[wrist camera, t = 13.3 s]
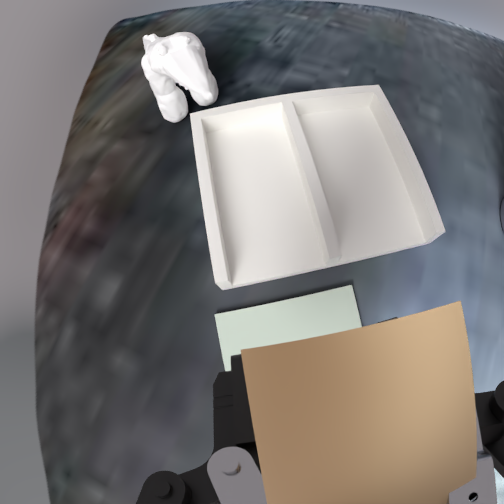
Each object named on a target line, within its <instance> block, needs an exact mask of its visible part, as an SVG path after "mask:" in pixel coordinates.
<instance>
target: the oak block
mask: <svg viewBox="0 0 504 504" xmlns="http://www.w3.org/2000/svg"><path fill="white" fill-rule="evenodd" d="M241 356H242V362H243V369H244V375H245V381H246V387H247V393H248V399H249V405H250V411H251V417H252V423H253V429H254V435H255V440H256V446H257V452H258V457H259V463H260V468H261V474H262V479H263V485H264V490H265V495H266V501H267V504H447V500H448V495H449V493H450V492H452V491H454V490H456V489H458V488H459V487H461V486H463V485H464V484H466V483H468V482H469V481H471V480H473V479H474V478H476V467H477V429H476V407H475V394H474V383H473V373H472V365H471V357H470V350H469V344H468V337H467V331H466V326H465V320H464V315H463V310H462V305H461V301H458V302H454V303H451V304H448V305H444V306H441V307H438V308H434V309H431V310H427V311H423V312H420V313H416V314H412V315H409V316H405V317H401V318H397V319H393V320H389V321H385V322H381V323H377V324H373V325H369V326H364V327H360V328H356V329H351V330H347V331H342V332H337V333H332V334H328V335H323V336H318V337H313V338H307V339H302V340H297V341H291V342H285V343H280V344H274V345H268V346H262V347H255V348H249V349H242V350H241Z"/></svg>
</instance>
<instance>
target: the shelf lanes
mask: <svg viewBox="0 0 504 504" xmlns="http://www.w3.org/2000/svg"><path fill="white" fill-rule="evenodd" d="M190 118H191V126H192V133H193V141H194V149H195V156H196V163H197V170H198V178H199V184H200V191H201V198H202V205H203V211H204V218H205V224H206V230H207V237H208V243H209V249H210V255H211V261H212V267H213V273H214V279H215V283H216V284H217V285H218V286H219V287H220V288H221V289H222V290H226V289H231V288H236V287H241V286H246V285H250V284H255V283H260V282H265V281H269V280H274V279H279V278H284V277H288V276H293V275H297V274H302V273H306V272H311V271H315V270H320V269H324V268H329V267H333V266H338V265H342V264H346V263H351V262H355V261H359V260H363V259H368V258H372V257H376V256H380V255H385V254H389V253H393V252H397V251H401V250H405V249H409V248H413V247H417V246H421V245H425V244H429V243H431V242H432V241H434V240H435V239H436V238H438V237H439V236H440V235H442V234H443V233H444V232H446V231H445V228H444V225H443V223H442V220H441V217H440V214H439V212H438V209H437V206H436V204H435V201H434V198H433V196H432V193H431V191H430V188H429V186H428V183H427V181H426V179H425V176H424V174H423V172H422V169H421V167H420V165H419V162H418V160H417V158H416V156H415V154H414V151H413V149H412V147H411V145H410V143H409V141H408V139H407V137H406V135H405V133H404V131H403V129H402V127H401V125H400V123H399V121H398V119H397V117H396V115H395V113H394V111H393V109H392V108H391V106H390V104H389V102H388V100H387V99H386V97H385V95H384V93H383V91H382V90H381V88H380V86H379V85H368V86H354V87H342V88H332V89H323V90H314V91H306V92H299V93H291V94H285V95H278V96H272V97H266V98H261V99H255V100H250V101H244V102H239V103H234V104H230V105H225V106H220V107H216V108H211V109H207V110H203V111H199V112H195V113H191V114H190Z"/></svg>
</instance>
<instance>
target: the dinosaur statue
mask: <svg viewBox="0 0 504 504" xmlns="http://www.w3.org/2000/svg"><path fill="white" fill-rule="evenodd" d="M143 43H144V49H145V52H146V53H145V55H144V56H143V58H142V62H141V65H142V68H143V70H144V73H145V76H146V78H147V80H149V82H150V86H151V88H152V90H153V92H154V95H155V96H156V99H157V102H158V106H159V109H160V111H161V112H162V115H163V117H164V119H166V120H168V121H171V122H174V123H175V122H179V121H181V120H182V119H183V118H185V117H186V115H187V113H188V104H187V100H186V97H185V94H184V93H183V91H182V90H181V89H180V88H178V87H177V86H176V83H179V85H180V86H184V87H185V89H186V90H188V89H189V91H190V93H191V96H192V98H193V99H194V100H195V101H196V102H197V103H198V104H199V105H201V106H208V105H211V104H213V103H214V102H215V101H216V100H217V97H218V88H217V82H216V79H215V77H214V76H213V75H212V73H211V71H210V70H209V69H208V62H207V59H206V56H205V48H204V47H203V46H202V43H201V42H200V40H199V38H198V37H197V36H195V35H194V34H193V33H190V32H178V33H175V34H173V35H171V36H167V37H157V36H156V35H155V34H151V35H149V36H148V35H145V36H144V37H143Z"/></svg>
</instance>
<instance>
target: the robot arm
mask: <svg viewBox="0 0 504 504" xmlns="http://www.w3.org/2000/svg"><path fill="white" fill-rule="evenodd" d="M500 216H501V223H502V227H503V231H504V198H503V200H502V203H501V215H500ZM393 319H397V317H395V318H392V319H388V320H385V321H389V320H393ZM385 321H381V322H385ZM381 322H378V323H381ZM474 394H475V407H476V429H477V467H476V478H474V479H473V480H471V481H469V482H468V483H466V484H464V485H463V486H461V487H459V488H458V489H456V490H454V491H452V492H450V493H449V495H448V500H447V504H497V496H496V484H495V474H494V468H495V469H496V470H497V471H498V472H499V473H500V474H501V475H502V477H503V478H504V381H502V382H501V383H500V384H499V385H498V386H497V388H496V390H495V391H490V392H483V393H474ZM213 397H214V400H213V407H214V410H213V411H214V449H213V453H212V455H211V457H210V458H209V459H208V461H207V462H206V463H204V464H203V465H202V466H200V467H198V468H196V469H193V470H190V471H188V472H185V473H182V474H179V475H177V474H175V473H173V472H170V471H159V472H156V473H154V474H152V475H151V476H149V477H148V478H147V479H146V481H145V483H144V485H143V487H142V490H141V492H140V495H139V497H138V500H137V502H136V504H267V501H266V495H265V490H264V485H263V479H262V474H261V468H260V463H259V457H258V452H257V446H256V440H255V435H254V429H253V423H252V417H251V411H250V405H249V399H248V393H247V387H246V381H245V375H244V369H243V362H242V356H241V354H238V355H232V356H231V371H225V372H219V374H218V376H217V378H216V380H215V382H214V384H213ZM469 500H470V501H469Z"/></svg>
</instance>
